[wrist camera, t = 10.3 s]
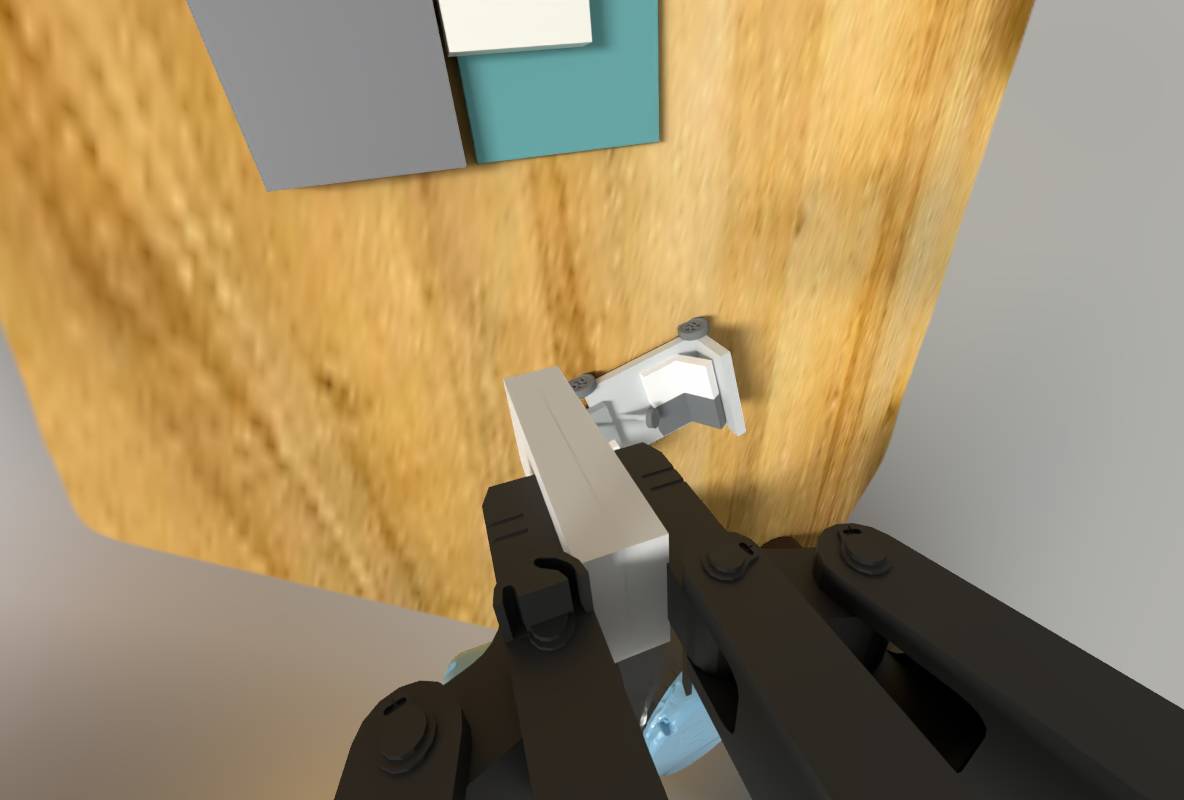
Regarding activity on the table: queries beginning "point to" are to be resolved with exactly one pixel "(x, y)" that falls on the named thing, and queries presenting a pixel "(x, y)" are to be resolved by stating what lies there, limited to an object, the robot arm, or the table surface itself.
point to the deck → (334, 87)
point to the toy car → (665, 390)
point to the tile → (513, 25)
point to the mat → (569, 89)
